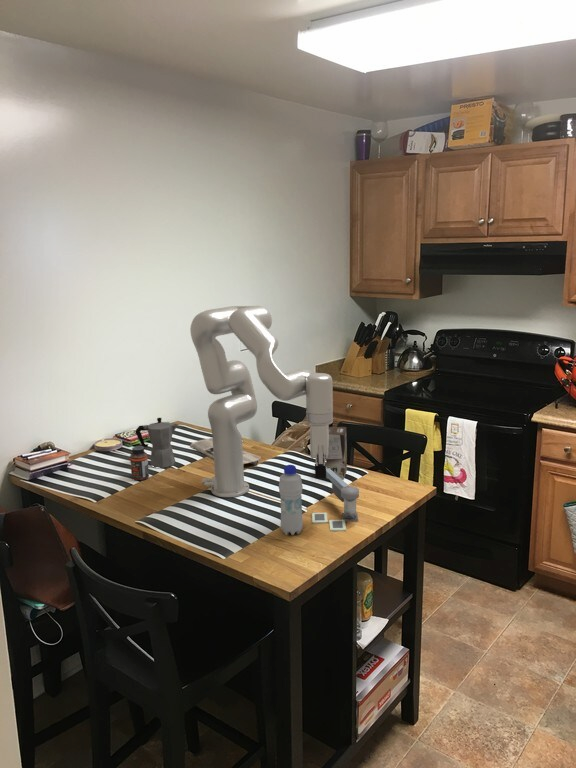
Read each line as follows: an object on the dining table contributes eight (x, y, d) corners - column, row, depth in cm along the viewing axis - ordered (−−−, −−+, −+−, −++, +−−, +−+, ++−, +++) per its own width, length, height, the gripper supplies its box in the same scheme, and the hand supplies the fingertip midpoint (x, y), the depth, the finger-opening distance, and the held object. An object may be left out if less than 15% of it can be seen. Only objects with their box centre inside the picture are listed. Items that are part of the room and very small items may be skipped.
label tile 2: (330, 531, 176) (330, 529, 176) (329, 521, 182) (329, 519, 182) (346, 530, 176) (346, 529, 176) (344, 521, 182) (344, 519, 182)
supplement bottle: (128, 480, 217) (125, 449, 214) (138, 474, 222) (135, 444, 220) (142, 482, 215) (139, 451, 212) (152, 475, 220) (149, 445, 217)
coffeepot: (180, 457, 237) (176, 412, 233) (181, 466, 228) (178, 419, 224) (138, 462, 234) (134, 416, 230) (138, 471, 225) (134, 423, 221)
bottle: (279, 526, 179) (277, 461, 175) (302, 525, 180) (300, 460, 175) (281, 538, 173) (278, 470, 168) (305, 536, 173) (303, 469, 169)
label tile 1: (312, 523, 181) (312, 521, 181) (311, 514, 187) (311, 512, 187) (327, 522, 181) (327, 521, 181) (326, 513, 187) (326, 512, 187)
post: (343, 521, 182) (342, 500, 180) (342, 514, 186) (342, 494, 184) (358, 521, 182) (358, 500, 180) (356, 514, 186) (356, 494, 184)
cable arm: (361, 510, 181) (361, 491, 180) (345, 513, 180) (345, 494, 178) (334, 484, 200) (334, 467, 199) (319, 487, 199) (319, 469, 197)
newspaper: (190, 448, 249) (189, 439, 248) (217, 441, 256) (217, 433, 255) (236, 473, 221) (236, 464, 221) (265, 465, 229) (265, 456, 228)
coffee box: (344, 479, 212) (344, 434, 208) (325, 478, 213) (325, 434, 209) (347, 470, 220) (347, 426, 217) (329, 469, 222) (328, 425, 218)
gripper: (306, 409, 184) (307, 468, 188) (306, 425, 169) (308, 487, 174) (331, 409, 184) (332, 467, 188) (334, 424, 169) (334, 487, 173)
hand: (320, 477), depth 181 cm, fingers closed
